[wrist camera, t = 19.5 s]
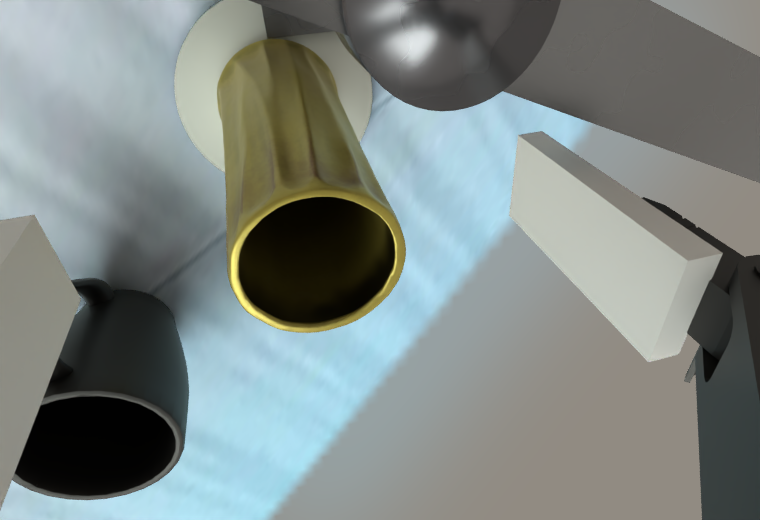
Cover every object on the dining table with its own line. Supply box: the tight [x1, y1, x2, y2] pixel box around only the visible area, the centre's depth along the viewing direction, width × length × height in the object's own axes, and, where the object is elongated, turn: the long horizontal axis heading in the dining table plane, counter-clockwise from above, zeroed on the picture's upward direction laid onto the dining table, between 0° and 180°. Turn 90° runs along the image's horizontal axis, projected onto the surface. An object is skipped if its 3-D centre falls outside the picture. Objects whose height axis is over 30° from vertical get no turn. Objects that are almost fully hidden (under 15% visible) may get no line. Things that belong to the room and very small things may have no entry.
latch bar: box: [249, 0, 760, 183], centre depth 8 cm, size 19×4×7 cm, turn 70°
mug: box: [12, 278, 189, 500], centre depth 26 cm, size 8×12×10 cm
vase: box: [217, 39, 406, 333], centre depth 19 cm, size 6×6×14 cm
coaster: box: [174, 0, 372, 173], centre depth 25 cm, size 10×10×1 cm
